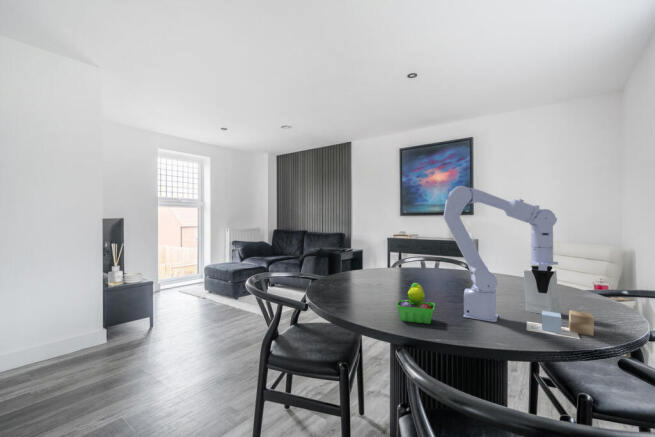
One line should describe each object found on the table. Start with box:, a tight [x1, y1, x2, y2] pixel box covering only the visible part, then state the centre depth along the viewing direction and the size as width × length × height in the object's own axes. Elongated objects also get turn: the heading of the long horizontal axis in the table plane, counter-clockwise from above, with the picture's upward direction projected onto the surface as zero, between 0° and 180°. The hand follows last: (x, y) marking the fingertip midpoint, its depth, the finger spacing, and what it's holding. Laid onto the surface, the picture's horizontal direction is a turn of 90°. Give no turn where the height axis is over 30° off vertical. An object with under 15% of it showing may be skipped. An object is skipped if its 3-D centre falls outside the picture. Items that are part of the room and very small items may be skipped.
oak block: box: [568, 309, 595, 337], centre depth 88 cm, size 5×5×5 cm
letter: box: [526, 321, 581, 340], centre depth 89 cm, size 12×9×1 cm
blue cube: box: [541, 311, 562, 333], centre depth 89 cm, size 4×4×4 cm
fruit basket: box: [396, 282, 436, 325], centre depth 99 cm, size 11×9×11 cm
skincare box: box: [523, 267, 560, 315], centre depth 106 cm, size 8×6×15 cm
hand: (542, 290), depth 96 cm, fingers open, 7 cm apart
